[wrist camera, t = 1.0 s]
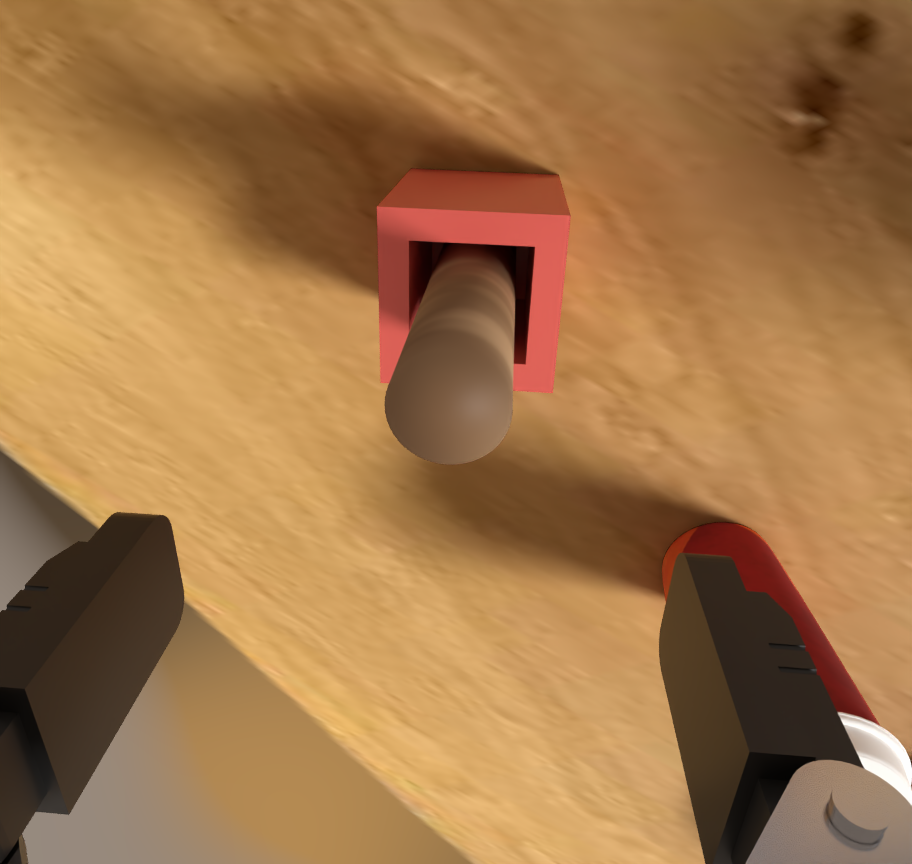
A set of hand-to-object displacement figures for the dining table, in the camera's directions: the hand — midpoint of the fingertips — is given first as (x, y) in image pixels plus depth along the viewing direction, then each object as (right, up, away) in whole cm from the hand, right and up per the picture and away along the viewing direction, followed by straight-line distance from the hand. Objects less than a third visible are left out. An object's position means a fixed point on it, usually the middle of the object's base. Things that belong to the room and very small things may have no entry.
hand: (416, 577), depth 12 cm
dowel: (+2, +10, +19) cm, 21 cm away
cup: (+2, +10, +19) cm, 22 cm away
